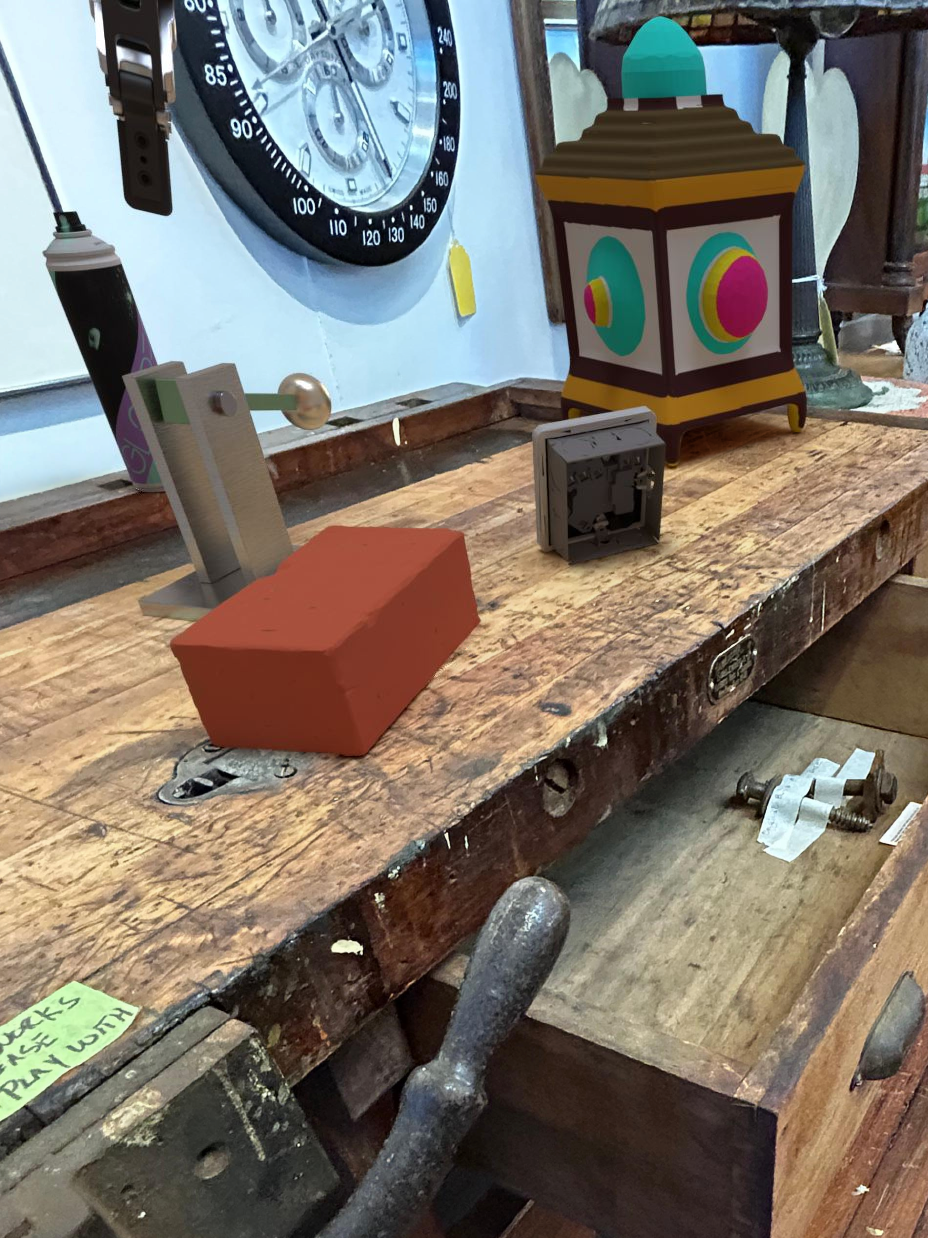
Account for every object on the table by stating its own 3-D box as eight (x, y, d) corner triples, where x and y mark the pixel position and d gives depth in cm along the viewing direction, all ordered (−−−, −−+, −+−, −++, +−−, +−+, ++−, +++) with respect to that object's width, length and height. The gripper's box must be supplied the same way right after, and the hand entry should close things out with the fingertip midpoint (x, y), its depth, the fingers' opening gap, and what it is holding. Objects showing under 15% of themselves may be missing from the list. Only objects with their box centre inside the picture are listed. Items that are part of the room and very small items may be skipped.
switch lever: (304, 428, 77) (295, 372, 75) (345, 430, 76) (337, 374, 74) (157, 433, 65) (142, 367, 63) (203, 436, 64) (190, 369, 62)
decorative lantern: (544, 436, 102) (485, 24, 82) (696, 399, 111) (677, 22, 91) (669, 476, 90) (637, 8, 70) (827, 431, 100) (838, 7, 80)
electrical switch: (646, 527, 80) (640, 397, 74) (678, 552, 77) (675, 419, 71) (536, 553, 77) (519, 419, 70) (566, 580, 74) (551, 443, 67)
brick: (364, 758, 54) (330, 649, 50) (209, 749, 55) (164, 642, 51) (483, 622, 67) (464, 527, 63) (356, 617, 69) (329, 524, 65)
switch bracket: (257, 557, 78) (186, 347, 69) (357, 566, 76) (298, 351, 67) (144, 618, 70) (46, 388, 60) (254, 631, 67) (170, 394, 58)
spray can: (144, 496, 91) (34, 216, 78) (127, 483, 94) (18, 212, 81) (206, 483, 93) (110, 209, 80) (187, 470, 97) (91, 206, 83)
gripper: (40, -181, 54) (83, 198, 62) (5, -280, 43) (61, 191, 52) (201, -123, 57) (220, 230, 65) (204, -202, 47) (227, 230, 55)
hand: (150, 212), depth 59 cm, fingers open, 8 cm apart
